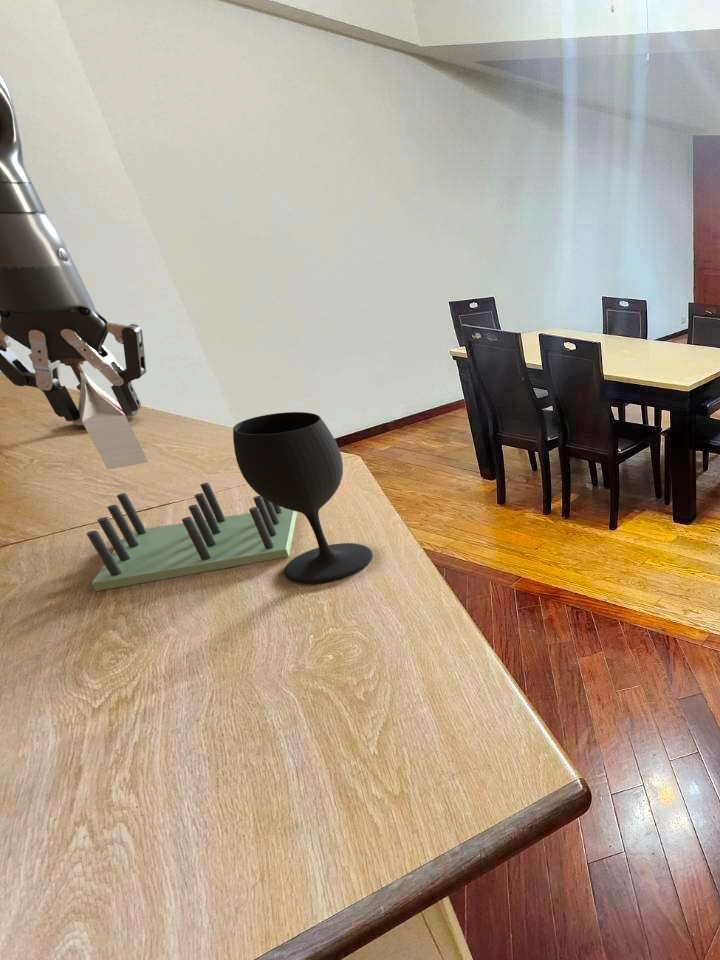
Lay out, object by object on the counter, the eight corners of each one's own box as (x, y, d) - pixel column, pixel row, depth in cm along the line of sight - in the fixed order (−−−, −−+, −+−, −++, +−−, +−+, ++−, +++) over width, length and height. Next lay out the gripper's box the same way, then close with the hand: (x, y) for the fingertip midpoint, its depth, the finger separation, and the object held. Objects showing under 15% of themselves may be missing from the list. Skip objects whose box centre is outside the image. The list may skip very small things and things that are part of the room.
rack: (96, 591, 73) (65, 541, 70) (130, 538, 84) (105, 492, 81) (289, 556, 82) (270, 510, 78) (297, 512, 93) (281, 470, 90)
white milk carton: (107, 469, 71) (63, 386, 66) (101, 454, 75) (59, 374, 70) (148, 462, 73) (108, 381, 68) (140, 447, 77) (102, 370, 72)
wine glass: (363, 579, 78) (314, 434, 68) (272, 589, 75) (206, 439, 65) (380, 541, 86) (338, 408, 76) (299, 549, 84) (244, 412, 74)
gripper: (122, 258, 69) (185, 403, 77) (-57, 257, 62) (34, 414, 71) (101, 264, 63) (172, 419, 72) (-98, 263, 57) (6, 433, 65)
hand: (103, 416), depth 71 cm, fingers closed on white milk carton, 4 cm apart
